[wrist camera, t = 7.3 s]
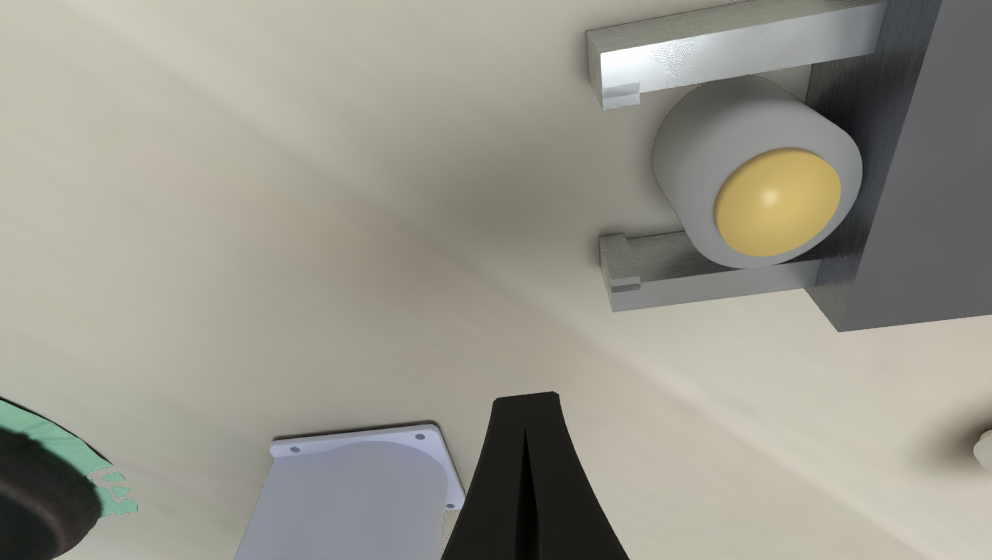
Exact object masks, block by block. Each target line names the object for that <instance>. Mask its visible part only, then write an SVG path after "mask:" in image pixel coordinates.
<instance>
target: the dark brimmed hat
mask: <svg viewBox="0 0 992 560" xmlns="http://www.w3.org/2000/svg"><path fill="white" fill-rule="evenodd" d="M111 466H113V465H112V464H110V463H109V462H107V461H106V460H104V459H102V458H100V457H99V456H98V455H97V454H96V453H95V452H94V451H92V450H91V449H90V448H89V447H88V446H87V445H86V444H85V443H84V442H83V441H82V440H81V439H79V438H77V437H75V436H73V435H72V434H70V433H68V432H66V431H65V430H63V429H61V428H60V427H58V426H56V425H55V424H54V423H52V422H50V421H48V420H46V419H43V418H41V417H39V416H37V415H34V414H32V413H29V412H26V411H24V410H21V409H19V408H17V407H15V406H13V405H11V404H8V403H6V402H4V401H1V400H0V560H52V559H54V558H56V557H58V556H60V555H62V554H64V553H66V552H67V551H69V550H70V549H72V548H73V547H75V546H76V545H77V544H78V543H79V542H80V541H81V540H82V539H83V538H84V537H85V536H86V534H87V533H88V532H89V530H91V529H92V528H93V527H94V526H95V524H96V522H97V520H98V519H99V518H101V517H103V516H107V515H112V511H113V512H116V514H125V513H130V512H135V511H138V510H137V503H136V502H135V501H133V500H128V499H126V500H123V502H121V503H115V502H113V501H111V500H112V496H111V494H110V493H111V492H109V491H107V490H105V488H102V487H98V486H96V485H95V484H93V479H91V480H89V479H88V478H87V477H86V476H87V475H88V474H89V473H90V472H93V471H96V470H100V469H102V468H108V467H111ZM103 479H104V480H106V481H124V480H125V479H124V477H123V476H122V475H121V473H120V472H115V473H113V474H111V475H108V474H107V475H105V476H103ZM109 489H110V490H113V491H112V492H113V493H116V494H115V495H116V496H117V497H127V496H126V493H127V492H129V491H130V490H132V489H130V488H126V487H111V488H109Z"/></svg>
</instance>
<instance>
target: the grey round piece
mask: <svg viewBox="0 0 992 560" xmlns="http://www.w3.org/2000/svg"><path fill="white" fill-rule="evenodd" d="M652 162H653V169H654V174H655V176H656V179H657V181H658V183H659V184H660V186H661V188H662V190H663V192H664V193H665V195H666V197H667V199H668V201H669V202H670V204H671V206H672V208H673V209H674V211H675V213H676V215H677V217H678V218H679V220H680V222H681V224H682V225H683V227H684V229H685V231H686V233H687V234H688V236H689V238H690V240H691V241H692V243H693V245H694V246H695V247H696V248H697V250H698V251H699V252H700V253H701V254H703V255H704V256H705V257H706V258H708V259H710V260H711V261H713V262H716V263H718V264H721V265H724V266H728V267H733V268H746V269H751V268H761V267H766V266H771V265H775V264H778V263H782V262H784V261H787V260H790V259H792V258H794V257H796V256H798V255H800V254H802V253H804V252H806V251H808V250H809V249H811V248H813V247H814V246H815V245H817V244H818V243H820V242H821V241H822V240H823V239H825V238H826V237H827V236H828V235H829V234H830V233H831V232H832V231H833V230H834V229H835V228H836V227H837V226H838V225H839V224H840V223H841V222H842V220H843V219H844V218H845V217H846V215H847V214H848V212H849V210H850V209H851V207H852V205H853V203H854V201H855V199H856V197H857V195H858V192H859V189H860V185H861V180H862V169H863V167H862V159H861V155H860V152H859V149H858V147H857V146H856V144H855V142H854V141H853V139H852V138H851V137H850V136H849V135H848V134H847V133H846V132H845V131H843V130H842V129H841V128H840V127H838V126H837V125H835V124H834V123H832V122H831V121H829V120H828V119H826V118H825V117H823V116H822V115H820V114H819V113H817V112H816V111H814V110H813V109H811V108H810V107H808V106H807V105H805V104H804V103H802V102H801V101H799V100H798V99H796V98H795V97H793V96H792V95H790V94H789V93H788V92H786V91H785V90H783V89H782V88H780V87H779V86H777V85H776V84H774V83H772V82H770V81H768V80H767V79H764V78H761V77H757V76H751V75H743V76H738V77H732V78H726V79H720V80H714V81H710V82H708V83H706V84H704V85H702V86H700V87H698V88H697V89H695V90H693V91H692V92H690V93H689V94H688V95H686V96H685V97H684V98H683V99H682V100H680V101H679V102H678V103H677V104H676V105H675V106H674V108H673V109H672V110H671V111H670V112H669V114H668V115H667V116H666V118H665V120H664V121H663V123H662V125H661V127H660V129H659V131H658V133H657V136H656V139H655V142H654V146H653V154H652Z"/></svg>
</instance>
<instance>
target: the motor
mask: <svg viewBox="0 0 992 560" xmlns="http://www.w3.org/2000/svg"><path fill="white" fill-rule="evenodd" d="M586 40H587V56H588V72H589V82H590V84H591V86H592V88H593V90H594V92H595V95H596V97H597V99H598V101H599V103H600V105H601V107H602V109H603V110H608V109H614V108H620V107H626V106H632V105H638V104H640V93H644V92H650V91H656V90H662V89H668V88H673V87H679V86H685V85H691V84H697V83H703V82H708V81H714V80H720V79H726V78H732V77H738V76H743V75H749V74H755V73H761V72H767V71H773V70H778V69H784V68H790V67H796V66H802V65H808V64H813V69H812V74H811V79H810V84H809V89H808V95H807V100H806V105H807V106H808V107H810V108H811V109H813V110H814V111H816V112H817V113H819V114H820V115H822V116H823V117H825V118H826V119H828V120H829V121H831V122H832V123H834V124H835V125H837V126H838V127H840V128H841V129H842V130H843V131H845V132H846V133H847V134H848V135H849V136H850V137H851V138H852V139H853V141H854V142H855V144H856V146H857V147H858V149H859V152H860V155H861V159H862V167H863V169H862V180H861V185H860V189H859V192H858V195H857V197H856V199H855V201H854V203H853V205H852V207H851V209H850V210H849V212H848V214H847V215H846V217H845V218H844V219H843V220H842V222H841V223H840V224H839V225H838V226H837V227H836V228H835V229H834V230H833V231H832V232H831V233H830V234H829V235H828V236H827V237H826V238H825V239H823V240H822V241H821V242H820V243H818V244H817V245H815V246H814V247H813V248H811V249H809V250H808V251H806V252H804V253H802V254H800V255H798V256H796V257H794V258H792V259H790V260H787V261H784V262H782V263H778V264H775V265H771V266H766V267H761V268H751V269H746V268H733V267H728V266H724V265H721V264H718V263H716V262H713V261H711V260H710V259H708V258H706V257H705V256H704V255H703V254H701V253H700V252H699V251H698V250H697V248H696V247H695V246H694V245H693V243H692V241H691V240H690V238H689V236H688V234H687V233H686V231H684V232H676V233H669V234H662V235H655V236H648V237H641V238H634V239H626V236H625V233H624V234H617V235H610V236H603V237H599V249H600V265H601V271H602V274H603V278H604V282H605V285H606V289H607V293H608V296H609V300H610V304H611V307H612V311H613V312H618V311H626V310H634V309H642V308H650V307H658V306H666V305H674V304H682V303H690V302H698V301H706V300H714V299H722V298H730V297H738V296H746V295H753V294H761V293H769V292H777V291H785V290H793V289H801V288H804V289H805V290H806V292H807V293H808V294H809V295H810V297H811V298H812V299H813V301H814V302H815V303H816V304H817V306H818V307H819V308H820V310H821V311H822V312H823V313H824V315H825V316H826V317H827V318H828V320H829V321H830V322H831V324H832V325H833V326H834V327H835V329H836V330H837V331H838V332H845V331H854V330H862V329H871V328H879V327H888V326H897V325H905V324H914V323H922V322H931V321H940V320H948V319H957V318H966V317H974V316H983V315H991V314H992V0H750V1H745V2H740V3H734V4H729V5H724V6H718V7H713V8H708V9H702V10H697V11H692V12H686V13H681V14H675V15H670V16H665V17H659V18H654V19H649V20H643V21H638V22H633V23H627V24H622V25H617V26H611V27H606V28H600V29H595V30H590V31H586Z"/></svg>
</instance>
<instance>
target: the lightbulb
mask: <svg viewBox="0 0 992 560" xmlns="http://www.w3.org/2000/svg"><path fill="white" fill-rule="evenodd" d="M973 453H974V456H975V457H976V458H977V459H978V462H979V463H980V464H981V465H982V466H983V468H984V469H985V471H986V472H987V473H988V474H989V476H990V477H991V478H992V430H989V431H986V432H984V433H983V434H982V435H981V436H980V440H979V441H978V442H977V444H976V445H975V446H974V450H973Z"/></svg>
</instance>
